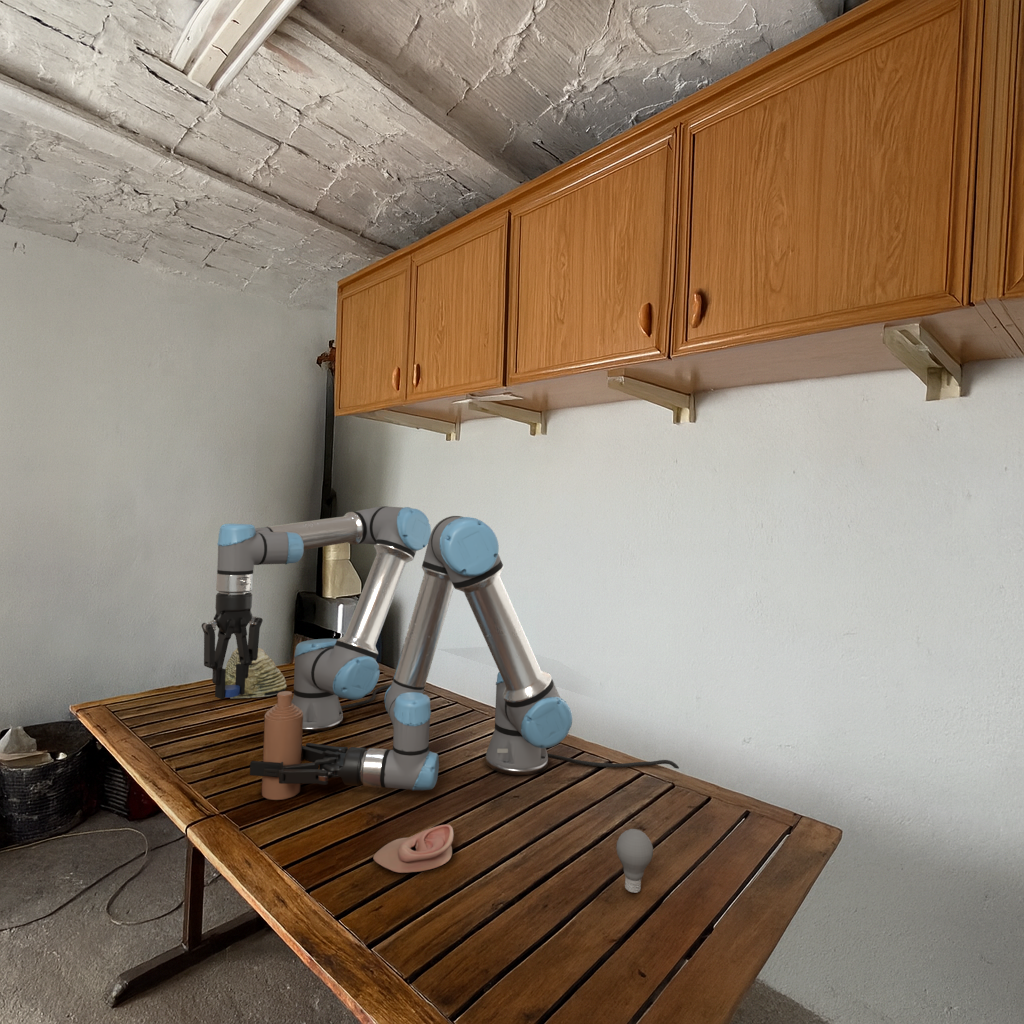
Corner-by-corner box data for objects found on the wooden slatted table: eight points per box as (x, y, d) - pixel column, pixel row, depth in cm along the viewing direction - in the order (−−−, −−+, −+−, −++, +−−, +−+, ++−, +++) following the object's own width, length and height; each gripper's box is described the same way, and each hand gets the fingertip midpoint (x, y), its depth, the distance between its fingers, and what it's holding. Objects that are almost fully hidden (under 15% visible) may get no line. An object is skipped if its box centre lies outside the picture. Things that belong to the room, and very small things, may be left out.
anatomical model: (366, 844, 109) (392, 812, 120) (365, 867, 109) (391, 833, 120) (440, 856, 106) (459, 823, 117) (439, 880, 106) (458, 844, 117)
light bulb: (610, 879, 108) (613, 822, 108) (644, 879, 109) (647, 822, 109) (619, 902, 102) (622, 840, 102) (655, 901, 103) (658, 840, 103)
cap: (220, 692, 144) (220, 685, 144) (240, 691, 146) (240, 684, 146) (219, 698, 140) (219, 690, 140) (239, 696, 142) (240, 689, 142)
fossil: (218, 695, 195) (220, 647, 195) (278, 685, 208) (279, 640, 207) (228, 703, 189) (230, 653, 188) (289, 692, 201) (290, 645, 201)
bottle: (284, 780, 141) (287, 685, 140) (308, 789, 137) (311, 692, 136) (253, 793, 134) (257, 693, 134) (278, 803, 130) (281, 701, 130)
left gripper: (205, 597, 134) (200, 707, 134) (277, 591, 147) (273, 691, 148) (188, 593, 138) (183, 699, 138) (259, 587, 152) (255, 684, 152)
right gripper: (348, 807, 124) (235, 799, 125) (377, 764, 145) (280, 757, 146) (350, 770, 124) (237, 762, 125) (378, 731, 145) (281, 725, 146)
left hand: (229, 695), depth 143 cm, fingers closed on cap, 4 cm apart
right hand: (260, 759), depth 136 cm, fingers closed on bottle, 8 cm apart
